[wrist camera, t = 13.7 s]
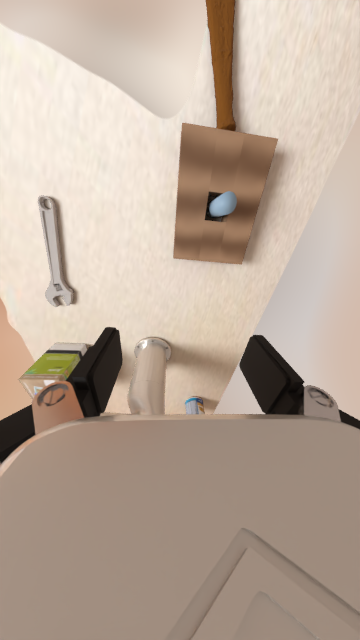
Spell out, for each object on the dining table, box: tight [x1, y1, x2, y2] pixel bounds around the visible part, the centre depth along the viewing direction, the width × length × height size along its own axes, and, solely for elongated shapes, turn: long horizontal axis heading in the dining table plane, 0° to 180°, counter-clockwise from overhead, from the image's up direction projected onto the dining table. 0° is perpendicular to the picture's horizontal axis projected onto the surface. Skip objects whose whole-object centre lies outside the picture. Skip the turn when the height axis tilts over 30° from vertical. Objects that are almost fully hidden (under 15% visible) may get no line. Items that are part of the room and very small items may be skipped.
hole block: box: [173, 123, 278, 264], centre depth 31 cm, size 20×16×4 cm
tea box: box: [19, 343, 87, 400], centre depth 47 cm, size 15×10×15 cm, turn 175°
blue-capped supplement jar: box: [185, 397, 205, 414], centre depth 63 cm, size 8×8×20 cm
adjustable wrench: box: [38, 195, 74, 307], centre depth 36 cm, size 25×6×2 cm, turn 160°
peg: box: [206, 191, 237, 218], centre depth 29 cm, size 3×3×10 cm
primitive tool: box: [206, 0, 236, 131], centre depth 21 cm, size 19×6×4 cm, turn 13°
